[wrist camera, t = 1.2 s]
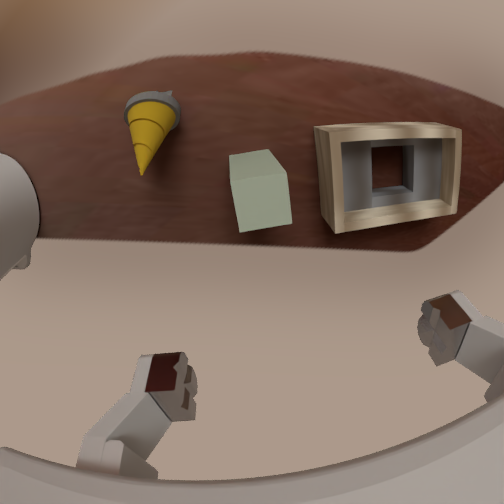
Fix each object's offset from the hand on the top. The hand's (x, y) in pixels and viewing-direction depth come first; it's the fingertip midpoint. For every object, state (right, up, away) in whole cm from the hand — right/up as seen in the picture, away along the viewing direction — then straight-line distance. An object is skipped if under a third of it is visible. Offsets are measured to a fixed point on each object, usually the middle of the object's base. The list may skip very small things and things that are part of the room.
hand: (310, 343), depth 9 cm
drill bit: (-11, +16, +18) cm, 26 cm away
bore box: (+13, +13, +22) cm, 28 cm away
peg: (-2, +11, +21) cm, 24 cm away
